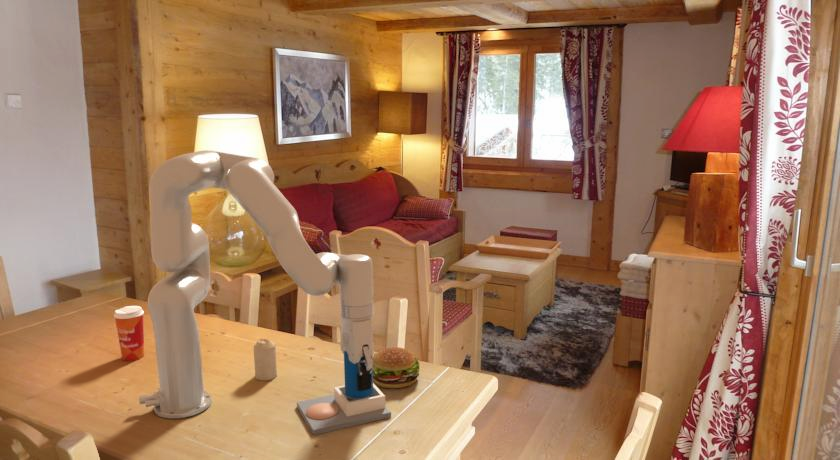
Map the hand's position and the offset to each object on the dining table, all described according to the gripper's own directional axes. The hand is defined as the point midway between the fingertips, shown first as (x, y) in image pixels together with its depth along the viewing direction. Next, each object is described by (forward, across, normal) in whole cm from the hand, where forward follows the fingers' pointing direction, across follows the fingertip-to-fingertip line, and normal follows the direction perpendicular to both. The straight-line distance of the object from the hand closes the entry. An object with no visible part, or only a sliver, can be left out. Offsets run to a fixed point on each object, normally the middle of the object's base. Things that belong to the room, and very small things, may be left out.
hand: (358, 382), depth 143 cm
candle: (+7, -27, -16) cm, 32 cm away
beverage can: (+3, 0, 0) cm, 3 cm away
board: (+6, 0, -4) cm, 8 cm away
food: (+7, -11, +13) cm, 18 cm away
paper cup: (+7, -56, -47) cm, 73 cm away
